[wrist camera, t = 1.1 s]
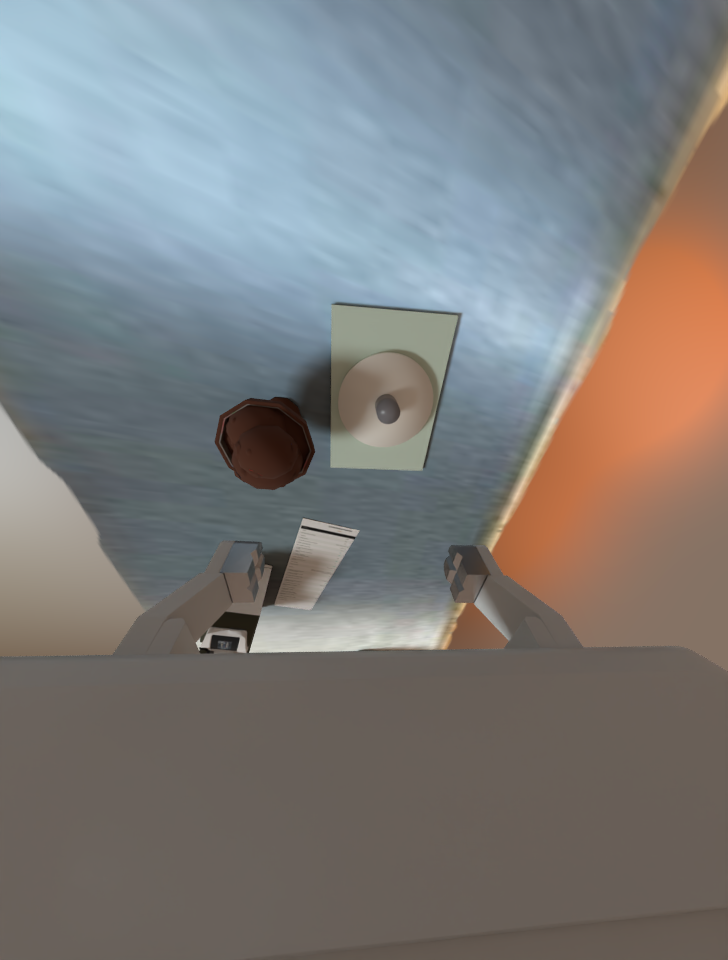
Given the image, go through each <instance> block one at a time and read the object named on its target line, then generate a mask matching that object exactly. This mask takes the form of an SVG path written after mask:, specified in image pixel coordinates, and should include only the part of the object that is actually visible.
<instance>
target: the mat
mask: <svg viewBox="0 0 728 960" xmlns="http://www.w3.org/2000/svg"><path fill="white" fill-rule="evenodd" d="M457 319H458V315H448V314H437V313H425V312H414V311H402V310H391V309H379V308H368V307H356V306H344V305H333V304H332V331H331V467H333V468H361V469H389V470H418V471H422V469H423V465H424V461H425V456H426V452H427V448H428V443H429V439H430V435H431V431H432V426H433V422H434V418H435V413H436V409H437V405H438V401H439V396H440V392H441V388H442V383H443V379H444V375H445V371H446V366H447V362H448V358H449V353H450V349H451V345H452V341H453V336H454V332H455V328H456V323H457ZM382 352H394V353H399V354H403V355H405V356H407V357H409V358H411V359H413V360H414V361H415V362H417V363H418V364H419V365H420V366H421V367H422V368H423V370H424V371H425V372H426V374H427V375H428V377H429V379H430V382H431V385H432V389H433V406H432V410H431V414H430V416H429V418H428V420H427V422H426V424H425V425H424V426H423V428H422V429H421V430H420V431H419V432H418V433H417V434H416V435H415V436H414V437H412V438H411V439H409V440H408V441H406V442H404V443H402V444H399V445H396V446H392V447H374V446H370V445H367V444H364V443H362V442H360V441H359V440H357V439H356V438H354V437H353V436H352V435H351V434H350V433H349V432H348V431H347V429H346V428H345V426H344V424H343V422H342V420H341V417H340V414H339V409H338V398H339V391H340V387H341V384H342V382H343V380H344V378H345V376H346V375H347V373H348V372H349V370H350V369H351V368H352V367H353V366H354V365H355V364H357V363H358V362H359V361H360V360H362V359H364V358H365V357H368V356H370V355H373V354H376V353H382Z"/></svg>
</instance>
